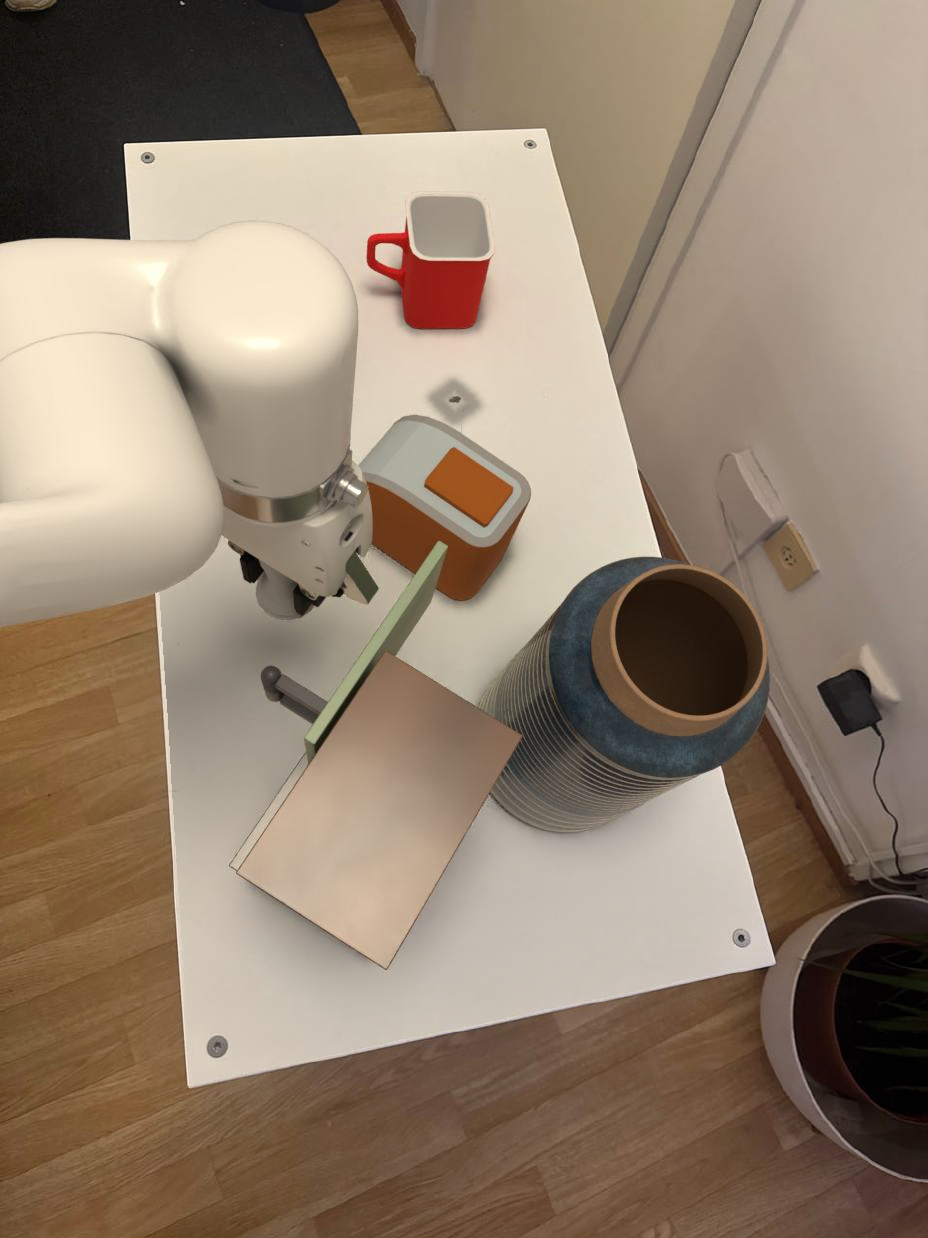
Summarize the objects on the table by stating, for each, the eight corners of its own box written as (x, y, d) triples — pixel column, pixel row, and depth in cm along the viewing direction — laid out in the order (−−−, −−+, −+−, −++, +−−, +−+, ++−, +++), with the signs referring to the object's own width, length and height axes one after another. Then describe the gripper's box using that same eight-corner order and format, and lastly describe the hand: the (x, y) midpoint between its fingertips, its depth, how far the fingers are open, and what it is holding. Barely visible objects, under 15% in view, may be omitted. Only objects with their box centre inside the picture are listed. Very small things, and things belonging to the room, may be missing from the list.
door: (247, 729, 57) (230, 692, 47) (366, 561, 61) (372, 498, 52) (317, 773, 56) (314, 745, 47) (431, 602, 61) (448, 545, 52)
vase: (664, 814, 80) (860, 752, 50) (491, 850, 77) (591, 806, 47) (619, 644, 85) (774, 497, 55) (454, 671, 82) (524, 530, 52)
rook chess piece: (326, 576, 65) (328, 530, 57) (307, 630, 63) (305, 591, 56) (268, 557, 64) (262, 509, 57) (246, 612, 63) (237, 569, 55)
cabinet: (255, 880, 73) (205, 854, 44) (348, 739, 78) (358, 632, 49) (365, 950, 73) (386, 970, 44) (452, 804, 78) (523, 735, 49)
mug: (471, 267, 97) (486, 191, 87) (480, 330, 94) (497, 260, 84) (361, 266, 95) (364, 189, 85) (367, 331, 92) (371, 260, 82)
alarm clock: (513, 544, 87) (544, 479, 74) (465, 609, 84) (489, 553, 71) (391, 460, 88) (400, 382, 75) (339, 521, 85) (340, 451, 72)
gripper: (451, 479, 45) (414, 602, 62) (183, 314, 46) (219, 480, 63) (372, 591, 43) (356, 688, 60) (89, 415, 43) (153, 560, 60)
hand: (286, 580), depth 61 cm, fingers closed on rook chess piece, 3 cm apart
